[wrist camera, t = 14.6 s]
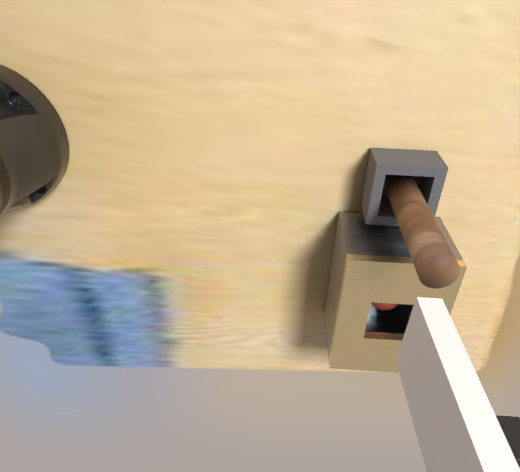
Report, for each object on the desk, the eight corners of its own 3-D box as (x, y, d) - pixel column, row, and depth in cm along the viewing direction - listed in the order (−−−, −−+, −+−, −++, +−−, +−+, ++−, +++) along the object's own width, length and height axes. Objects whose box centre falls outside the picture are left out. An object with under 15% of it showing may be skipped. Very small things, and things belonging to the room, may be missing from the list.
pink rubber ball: (364, 291, 52) (368, 309, 50) (369, 269, 51) (373, 287, 48) (392, 293, 52) (397, 311, 50) (397, 271, 51) (403, 288, 48)
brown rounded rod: (380, 191, 48) (414, 287, 35) (384, 165, 46) (423, 255, 33) (408, 192, 48) (454, 289, 34) (414, 166, 46) (464, 257, 33)
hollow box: (324, 312, 58) (329, 368, 50) (339, 211, 50) (347, 260, 42) (410, 317, 58) (428, 374, 50) (439, 217, 49) (466, 266, 42)
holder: (360, 204, 49) (365, 224, 46) (370, 147, 45) (376, 164, 42) (421, 208, 49) (431, 227, 45) (436, 151, 45) (448, 167, 42)
